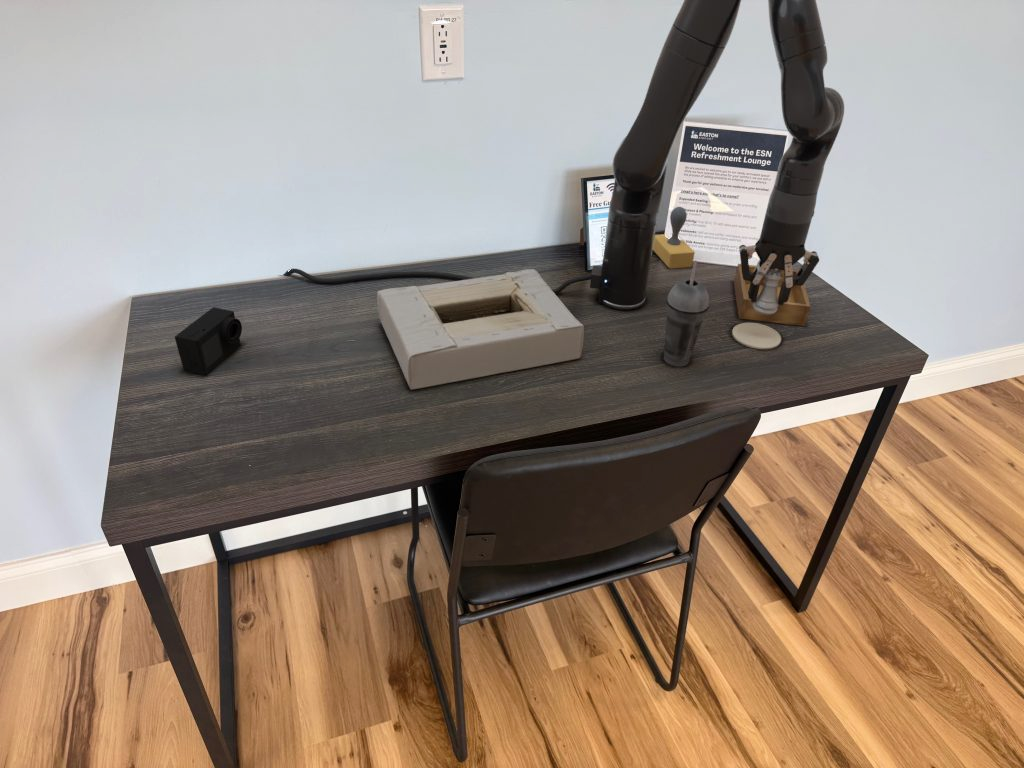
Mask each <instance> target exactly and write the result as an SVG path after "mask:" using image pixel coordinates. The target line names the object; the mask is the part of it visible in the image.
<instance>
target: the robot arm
mask: <svg viewBox="0 0 1024 768" xmlns="http://www.w3.org/2000/svg"><path fill="white" fill-rule="evenodd" d="M741 2H742V0H683V3H682V5H681V6H680V9H679V11H678V13H677V14H676V16H675V18H674V20H673V23H672V25H671V27H670V29H669V32H668V34H667V36H666V39H665V41H664V43H663V45H662V48H661V51H660V54H659V57H658V59H657V61H656V64H655V67H654V69H653V72H652V75H651V78H650V82H649V84H648V88H647V90H646V94H645V97H644V99H643V103H642V105H641V108H640V110H639V112H638V114H637V116H636V118H635V119H634V122H633V124H632V125H631V127H630V129H629V131H628V133H627V134H626V136H625V137H624V138H623V139H622V141H621V142H620V143H619V146H618V147H617V149H616V151H615V153H614V155H613V158H612V174H613V178H614V182H613V189H612V193H611V198H610V202H609V206H608V215H607V226H606V234H605V241H604V242H605V243H604V250H603V258H602V262H601V263H602V264H601V265H592V269H591V274H585V275H582V276H581V275H580V276H577V277H573V278H570V279H568V280H566V281H564V282H563V283H562V284H560V285H559V286H558V287H556V288H555V289H551V290H552V291H553V292H554V293H555V295H556V294H559V293H561V292H562V291H563V290H565V289H566V288H567V287H568V286H570V285H573V284H577V283H580V282H584V281H589V280H590V281H589V288H590V289H597V290H599V291H598V299H597V303H598V304H602V305H605V306H607V307H609V308H611V309H615V310H622V311H629V310H630V311H631V310H636V309H639V308H641V307H642V306H644V304H645V303H646V294H647V288H648V282H649V275H650V269H651V261H652V255H653V251H654V250H653V244H654V237H655V235H656V231H657V223H658V219H659V212H660V208H661V204H662V198H663V192H664V187H665V181H666V174H667V169H668V163H669V155H670V152H671V150H672V147H673V144H674V142H675V139H676V137H677V134H678V132H679V131H680V129H681V126H682V124H683V122H684V121H685V119H686V117H687V116H688V114H689V112H690V111H691V109H692V108H693V107H694V104H695V103H696V102H697V100H698V98H699V97H700V95H701V93H702V92H703V90H704V89H705V87H706V85H707V83H708V82H709V80H710V78H711V76H712V74H713V72H714V71H715V69H716V67H717V65H718V63H719V61H720V59H721V57H722V55H723V53H724V51H725V49H726V47H727V45H728V43H729V40H730V38H731V36H732V33H733V31H734V28H735V25H736V21H737V18H738V14H739V11H740V7H741V4H742V3H741ZM767 3H768V4H767V5H768V6H767V7H768V19H769V28H770V34H771V39H772V44H773V48H774V53H775V57H776V61H777V65H778V69H779V72H780V101H781V113H782V119H783V122H784V125H785V128H786V130H787V132H788V133H789V134H790V136H791V137H792V138H791V139H792V140H791V142H790V145H789V146H788V148H787V149H786V151H785V152H784V153H783V154H782V156H781V159H780V161H779V164H778V167H777V170H776V176H775V180H774V184H773V187H772V190H771V193H770V195H769V199H768V203H767V207H766V210H765V215H764V220H763V222H762V223H763V224H762V227H761V232H760V236H759V238H758V240H757V241H756V242H755V244H754V245H748V246H746V245H745V244H741V245H740V246H739V247H738V249H739V257H740V258H739V259H740V264H741V268H742V274H743V279H744V280H745V281H747V280H748V281H750V287H749V291H748V295H749V299H751V302H756V299H757V295H758V291H759V287H760V284H759V282H760V281H761V279H762V277H763V276H764V275H765V274H766V273H767V271H768V269H779V270H783V271H784V282H782V285H781V289H780V293H779V297H778V304H779V305H783V304H784V302H785V303H786V302H787V301H788V299H789V295H790V291H791V288H792V287H793V286H795V285H799V286H802V285H803V284H804V285H805V283H806V282H807V280H808V279H809V277H810V275H811V274H812V272H813V271H814V269H815V268H816V267H817V265H818V263H819V262H820V257H819V255H818V253H817V251H814V250H813V251H810V250H806V247H805V246H806V245H805V244H806V241H807V238H808V234H809V230H810V227H811V223H812V220H813V218H814V216H815V209H816V205H817V198H818V192H819V189H820V185H821V181H822V178H823V175H824V174H823V173H824V170H825V165H826V162H827V160H828V157H829V155H830V153H831V151H832V149H833V146H834V144H835V141H836V140H837V137H838V134H839V132H840V130H841V126H842V123H843V119H844V115H845V101H844V98H843V97H842V95H841V93H840V92H839V91H837V90H836V89H835V88H833V87H826V86H825V79H824V69H825V67H826V65H827V63H828V50H827V45H826V40H825V35H824V30H823V26H822V20H821V17H820V12H819V8H818V3H817V0H767ZM754 254H756V255H757V257H758V258H759V259H758V262H757V263H756V265H755V266H756V268H755V270H754V272H751V271H749V265H750V264H749V260H750V259H752V258H753V255H754ZM802 258H803V259H802ZM801 259H802V260H803V263H802V265H801V267H800V268H799V269H798V270H799V271H798V273H797V274H796V276H793V273H792V270H793V266H794V265H795V264H796V263H797V262H798V261H800V260H801ZM290 269H291V270H290ZM290 269H289V270H290V271H289V272H288V270H286V271H285V272H284V273H283V276H284V277H288V276H290V275H293V274H297V275H299V276H301V277H303V278H306V279H307V280H308V281H312V282H314V283H320V284H338V283H346V282H353V281H362V280H363V281H364V280H374V279H383V278H394V277H395V278H396V277H434V278H445V279H454V280H458V281H460V280H467V279H475V278H476V277H472V276H469V275H468V276H467V275H463V274H457V273H449V272H438V271H418V270H417V271H390V272H379V273H367V274H358V275H350V276H344V277H334V278H323V277H317V276H314V275H312V274H310V273H308V272H306V271H303V270H302V269H299V268H290Z"/></svg>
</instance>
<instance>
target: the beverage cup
mask: <svg viewBox="0 0 1024 768" xmlns="http://www.w3.org/2000/svg"><path fill="white" fill-rule="evenodd" d="M697 266H698V260H696V259H694V260H693V264H692V270H691V275H690V279H683V280H681V281H679V282H676V284H675V285H674V286H673V287H671V289H670V291H669V292H668V295H667V297H666V299H665V303H666V324H665V334H664V347H663V360H664V362H665V363H667V364H668V365H670V366H674V367H684V366H687V365H688V364H689V363H690V359H691V357H692V356H693V351H694V349H695V347H696V343H697V339H698V336H699V333H700V331H701V327H702V324H703V321H704V319H705V317H706V315H707V313H708V310H709V309H710V296H709V292H708V290H707V289H706V287H705V286H704V284H702V283H701V282H699V281H697V280H695V276H696V275H695V274H696V270H697Z"/></svg>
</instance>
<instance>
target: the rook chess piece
mask: <svg viewBox="0 0 1024 768" xmlns="http://www.w3.org/2000/svg"><path fill="white" fill-rule="evenodd" d="M781 273H782V271H780V270H779V269H777V270H775V269H772V270H771V269H768V271H767V273H766V274H765V275H764V276H765V278H766V279H765V280H764V281H763V282H764V286H763V288H762V291H761V293H760V294H759V295H758V297H757V299H756V302H754V304H753V308H754V309H755V310H756V311H757V312H758V313H761V314H766V315H769V314H773V313H775V312H776V311H777V310H778V309H777V307H778V301H777V297H776V294H777V287H778V286H779V280H780V279H782V278H783V276H782V274H781Z"/></svg>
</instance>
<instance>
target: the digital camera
mask: <svg viewBox="0 0 1024 768" xmlns="http://www.w3.org/2000/svg"><path fill="white" fill-rule="evenodd" d="M242 332H243V325H242V322H241V321H240V319H238V318H236V316H235V312H234V310H228V309H225V308H220V307H219V308H218V307H212V308H210V309H209V310H207V311H206V312H205V313H203V314H202V315H201V316H200V317H198V318H197V319H196V320H194V321H193V322H191V324H189V325H188V326H187V327H185V328H184V329H183V330H181V331H180V332H179V333H177V334H176V335H175V336H174V340H175V343H176V347H177V350H178V355H179V358H180V362H181V365H182V368H183V371H184V372H187V373H193V374H198V375H202V376H206V375H208V374H210V372H211V371H212V370H214V369H215V368H216V367H217V366H218V365H219V364H221V363H222V362H223V361H224V360H225V359H226V358H227V357H229V356H230V355H231V354H232V353H234V351H235V350H237V349H238V348H239V347H240V346H241V345H242V343H241V339H240V338H241V336H242Z"/></svg>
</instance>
